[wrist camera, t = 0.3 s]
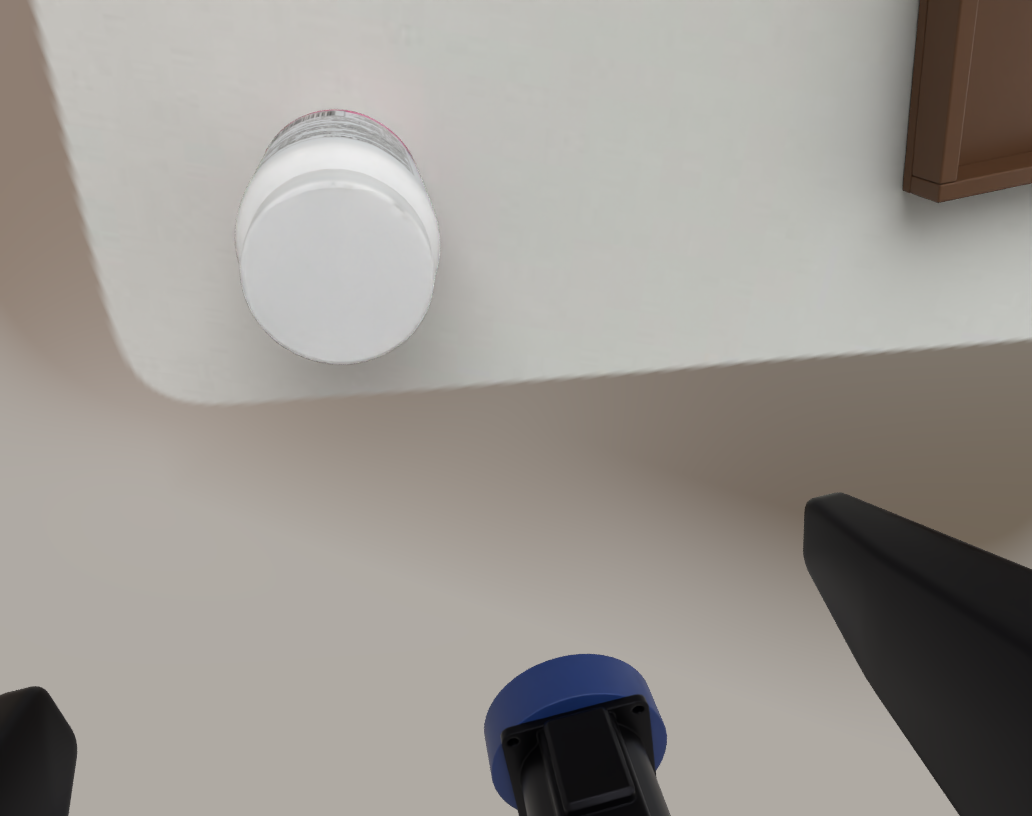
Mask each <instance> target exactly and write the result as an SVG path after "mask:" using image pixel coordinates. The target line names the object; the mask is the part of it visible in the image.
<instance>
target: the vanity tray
mask: <svg viewBox="0 0 1032 816" xmlns="http://www.w3.org/2000/svg"><path fill="white" fill-rule="evenodd" d="M1030 183H1032V0H920V5H919V16H918V27H917V38H916V49H915V60H914V71H913V82H912V93H911V104H910V115H909V126H908V137H907V148H906V159H905V170H904V182H903V191H906V192H908V193H912V194H915V195H918V196H920V197H923V198H926V199H929V200H931V201H934V202H937V203H940V202H945V201H950V200H954V199H959V198H964V197H969V196H973V195H978V194H983V193H988V192H992V191H997V190H1002V189H1006V188H1011V187H1016V186H1021V185H1025V184H1030Z"/></svg>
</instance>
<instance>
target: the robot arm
mask: <svg viewBox="0 0 1032 816" xmlns="http://www.w3.org/2000/svg"><path fill="white" fill-rule="evenodd" d="M803 555H804V560H805V564H806V567H807V569H808V572H809V574H810V575H811V577H812V579H813V581H814V583H815V585H816V586H817V588H818V590H819V592H820V594H821V596H822V598H823V600H824V602H825V603H826V605H827V607H828V609H829V611H830V613H831V615H832V617H833V618H834V620H835V622H836V624H837V626H838V628H839V630H840V631H841V633H842V635H843V637H844V639H845V641H846V643H847V644H848V646H849V648H850V650H851V652H852V654H853V655H854V657H855V659H856V661H857V663H858V664H859V666H860V668H861V670H862V672H863V673H864V675H865V677H866V679H867V680H868V682H869V683H870V685H871V686H872V688H873V689H874V691H875V693H876V694H877V695H878V697H879V699H880V700H881V702H882V703H883V704H884V706H885V707H886V709H887V710H888V711H889V713H890V714H891V716H892V718H893V719H894V720H895V722H896V723H897V725H898V726H899V728H900V729H901V731H902V732H903V734H904V735H905V737H906V738H907V739H908V741H909V742H910V744H911V745H912V747H913V748H914V750H915V751H916V753H917V754H918V756H919V757H920V758H921V760H922V761H923V763H924V764H925V766H926V767H927V769H928V770H929V772H930V773H931V774H932V776H933V777H934V779H935V780H936V782H937V783H938V785H939V786H940V788H941V789H942V790H943V792H944V793H945V794H946V796H947V798H948V799H949V801H950V802H951V804H952V805H953V807H954V808H955V809H956V811H957V812H958V814H959V815H960V816H1032V569H1029V568H1027V567H1025V566H1022V565H1020V564H1017V563H1015V562H1012V561H1010V560H1007V559H1005V558H1002V557H1000V556H997V555H995V554H993V553H990V552H988V551H985V550H983V549H980V548H978V547H975V546H973V545H970V544H968V543H966V542H963V541H961V540H958V539H956V538H953V537H950V536H948V535H946V534H943V533H941V532H938V531H936V530H934V529H931V528H929V527H926V526H924V525H921V524H919V523H916V522H914V521H911V520H909V519H906V518H904V517H902V516H899V515H897V514H894V513H892V512H889V511H887V510H884V509H882V508H879V507H877V506H874V505H872V504H870V503H867V502H864V501H862V500H860V499H857V498H855V497H852V496H850V495H847V494H844V493H832V494H828V495H824V496H820V497H816V498H812V499H811V500H809V501H808V502H807V504H806V507H805V515H804V542H803ZM500 738H501V743H502V748H503V752H504V756H505V760H506V764H507V768H508V772H509V776H510V780H511V784H512V788H513V793H514V797H515V801H516V805H517V809H518V813H519V816H671V815H670V813H669V810H668V808H667V805H666V802H665V800H664V797H663V795H662V792H661V789H660V787H659V784H658V782H657V779H656V770H655V760H654V750H653V740H652V730H651V720H650V710H649V705H648V703H647V700H646V698H645V696H643V695H641V694H635V695H631V696H627V697H623V698H619V699H615V700H611V701H607V702H604V703H600V704H596V705H592V706H588V707H584V708H580V709H577V710H573V711H569V712H565V713H561V714H557V715H553V716H549V717H546V718H542V719H538V720H534V721H530V722H526V723H522V724H519V725H515V726H511V727H508V728H506V729H504V730H503V731H502V733H501V735H500ZM76 759H77V743H76V738H75V735H74V733H73V731H72V729H71V727H70V726H69V724H68V723H67V721H66V720H65V718H64V716H63V715H62V713H61V712H60V710H59V709H58V707H57V706H56V704H55V702H54V701H53V699H52V698H51V696H50V695H49V693H48V692H47V691H46V690H45V689H43V688H41V687H36V686H35V687H28V688H24V689H20V690H16V691H12V692H7V693H5V694H2V695H0V816H68V814H69V807H70V800H71V793H72V786H73V779H74V773H75V766H76Z"/></svg>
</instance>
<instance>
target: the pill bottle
mask: <svg viewBox="0 0 1032 816" xmlns="http://www.w3.org/2000/svg"><path fill="white" fill-rule="evenodd" d="M235 247H236V253H237V258H238V262H239V265H240V280H241V285H242V289H243V293H244V296H245V299H246V302H247V304H248V306H249V309H250V311H251V313H252V315H253V316H254V318H255V319H256V321H257V322H258V323H259V325H260V326H261V327H262V328H263V330H264V331H265V332H266V333H267V334H268V335H269V336H270V337H271V338H272V339H274V340H275V341H276V342H277V343H278V344H280V345H281V346H283V347H284V348H286V349H288V350H290V351H291V352H293V353H295V354H297V355H299V356H301V357H304V358H307V359H309V360H313V361H316V362H322V363H327V364H338V365H346V364H356V363H361V362H366V361H369V360H372V359H375V358H378V357H380V356H383V355H384V354H386V353H388V352H390V351H392V350H394V349H395V348H396V347H398V346H399V345H401V344H402V343H403V342H404V341H405V340H406V339H408V338H409V337H410V336H411V335H412V334H413V333H414V331H415V330H416V329H417V328H418V326H419V325H420V323H421V322H422V320H423V318H424V316H425V315H426V313H427V310H428V308H429V305H430V303H431V299H432V295H433V289H434V281H435V277H436V273H437V269H438V265H439V259H440V232H439V227H438V222H437V218H436V214H435V211H434V208H433V206H432V203H431V200H430V198H429V195H428V193H427V191H426V188H425V186H424V183H423V181H422V178H421V175H420V173H419V171H418V168H417V166H416V163H415V161H414V159H413V157H412V155H411V153H410V152H409V150H408V149H407V147H406V146H405V145H404V143H403V142H402V141H401V140H400V139H399V137H398V136H397V135H396V134H394V133H393V132H392V131H391V130H390V129H389V128H387V127H386V126H385V125H383V124H382V123H380V122H378V121H377V120H375V119H373V118H371V117H369V116H366V115H364V114H361V113H357V112H354V111H348V110H340V109H331V110H322V111H317V112H313V113H310V114H307V115H305V116H302V117H300V118H298V119H296V120H295V121H293V122H291V123H290V124H289V125H287V126H286V127H285V128H284V129H282V130H281V131H280V132H279V133H278V134H277V135H276V136H275V138H274V139H273V140H272V142H271V143H270V145H269V147H268V148H267V150H266V152H265V154H264V156H263V159H262V161H261V162H260V164H259V166H258V168H257V170H256V171H255V173H254V175H253V177H252V179H251V180H250V182H249V184H248V186H247V188H246V190H245V192H244V194H243V197H242V200H241V203H240V206H239V209H238V213H237V217H236V225H235Z"/></svg>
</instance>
